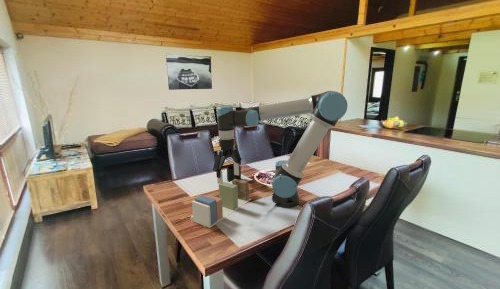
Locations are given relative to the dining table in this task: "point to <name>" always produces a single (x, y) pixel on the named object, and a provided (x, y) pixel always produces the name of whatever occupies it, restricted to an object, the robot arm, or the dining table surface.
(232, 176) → the mug
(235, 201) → the book olive
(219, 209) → the book rust
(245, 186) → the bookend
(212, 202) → the book navy
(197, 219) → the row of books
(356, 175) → the dining table surface
